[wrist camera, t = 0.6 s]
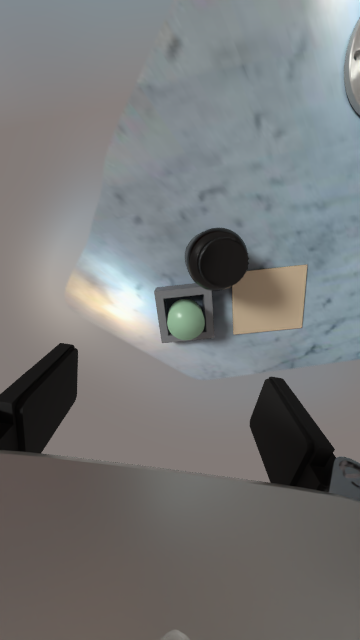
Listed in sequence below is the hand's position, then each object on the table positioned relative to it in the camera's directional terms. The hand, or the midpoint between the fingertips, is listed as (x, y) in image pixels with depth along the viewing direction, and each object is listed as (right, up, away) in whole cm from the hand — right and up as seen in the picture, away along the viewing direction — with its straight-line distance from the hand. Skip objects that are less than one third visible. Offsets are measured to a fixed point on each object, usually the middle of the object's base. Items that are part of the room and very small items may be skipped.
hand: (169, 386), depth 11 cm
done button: (+1, +4, +21) cm, 22 cm away
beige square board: (+14, +6, +24) cm, 28 cm away
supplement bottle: (+5, +13, +21) cm, 25 cm away
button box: (+1, +5, +24) cm, 25 cm away
